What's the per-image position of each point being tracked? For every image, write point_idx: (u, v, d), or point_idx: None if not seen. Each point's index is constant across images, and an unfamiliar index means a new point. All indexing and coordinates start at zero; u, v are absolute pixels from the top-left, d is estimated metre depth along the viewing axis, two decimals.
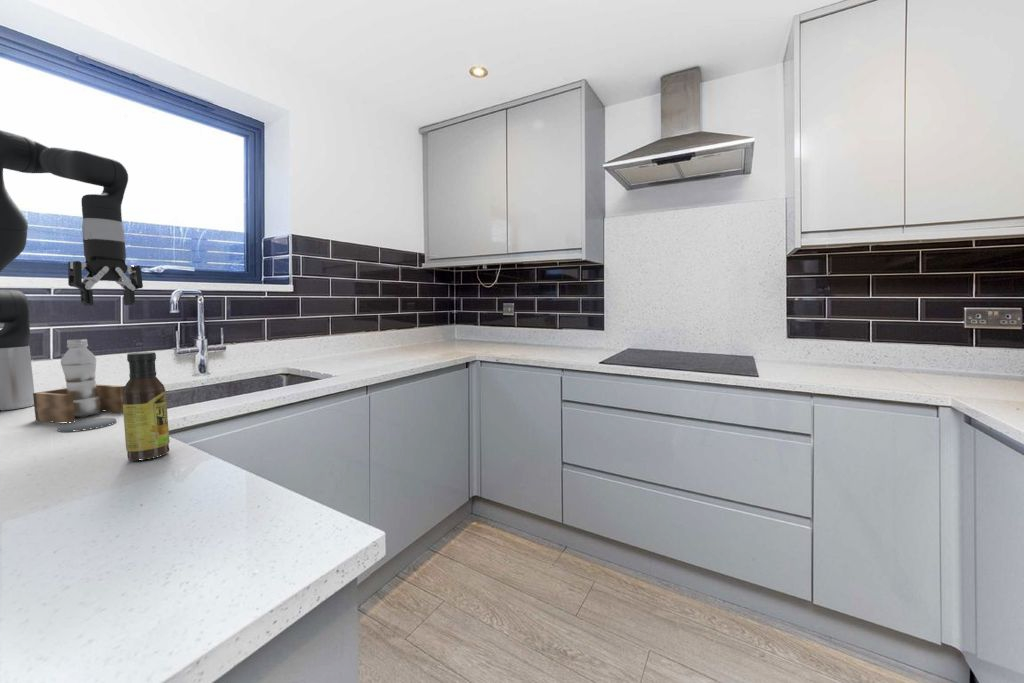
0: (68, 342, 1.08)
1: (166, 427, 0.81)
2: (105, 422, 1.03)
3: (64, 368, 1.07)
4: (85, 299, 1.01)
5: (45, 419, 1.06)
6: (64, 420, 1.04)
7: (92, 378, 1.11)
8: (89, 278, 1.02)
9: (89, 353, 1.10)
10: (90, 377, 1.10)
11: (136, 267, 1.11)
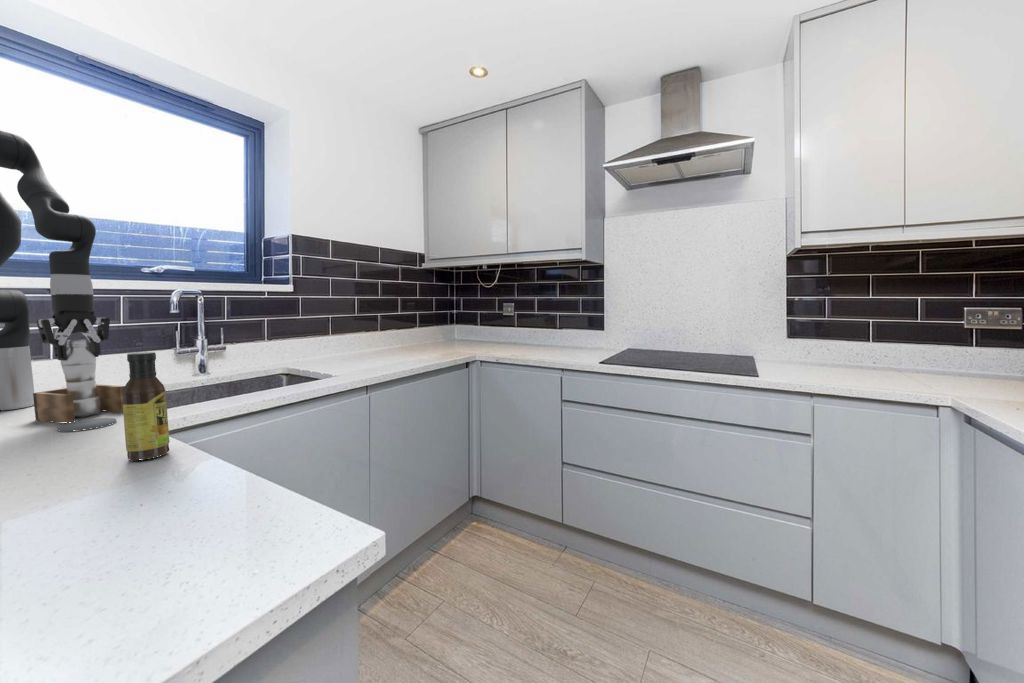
0: (68, 342, 1.08)
1: (166, 427, 0.81)
2: (105, 422, 1.03)
3: (64, 368, 1.07)
4: (59, 354, 1.05)
5: (45, 419, 1.06)
6: (64, 420, 1.04)
7: (92, 378, 1.11)
8: (60, 334, 1.06)
9: (89, 353, 1.10)
10: (90, 377, 1.10)
11: (105, 319, 1.14)
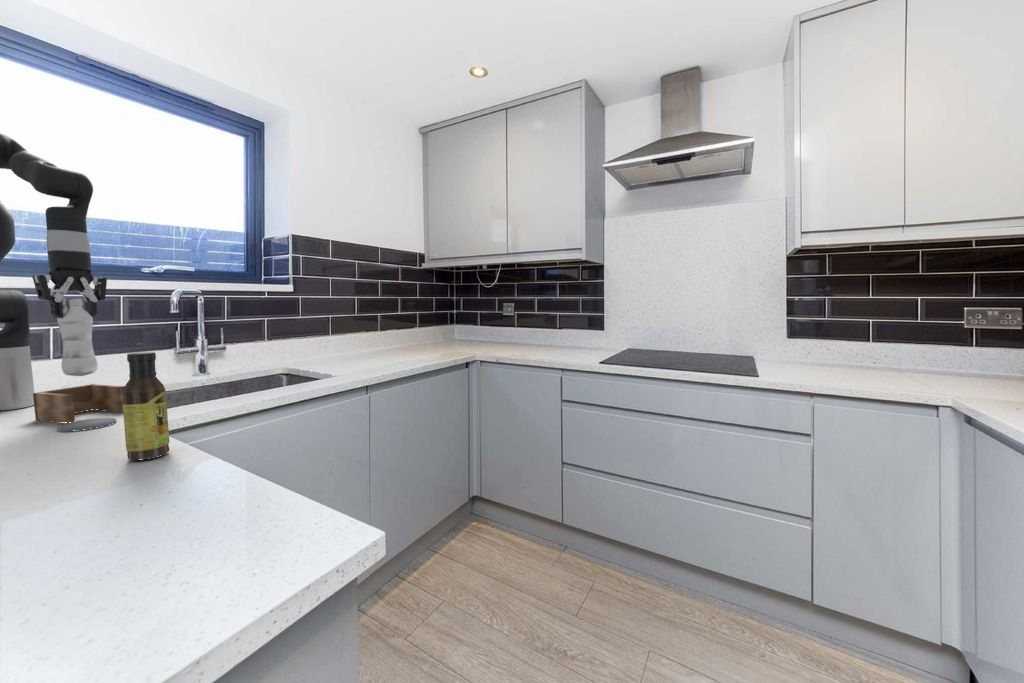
0: (64, 300, 1.07)
1: (166, 427, 0.81)
2: (105, 422, 1.03)
3: (60, 326, 1.06)
4: (55, 311, 1.05)
5: (45, 419, 1.06)
6: (64, 420, 1.04)
7: (88, 337, 1.10)
8: (56, 290, 1.05)
9: (86, 312, 1.09)
10: (86, 336, 1.09)
11: (102, 279, 1.13)
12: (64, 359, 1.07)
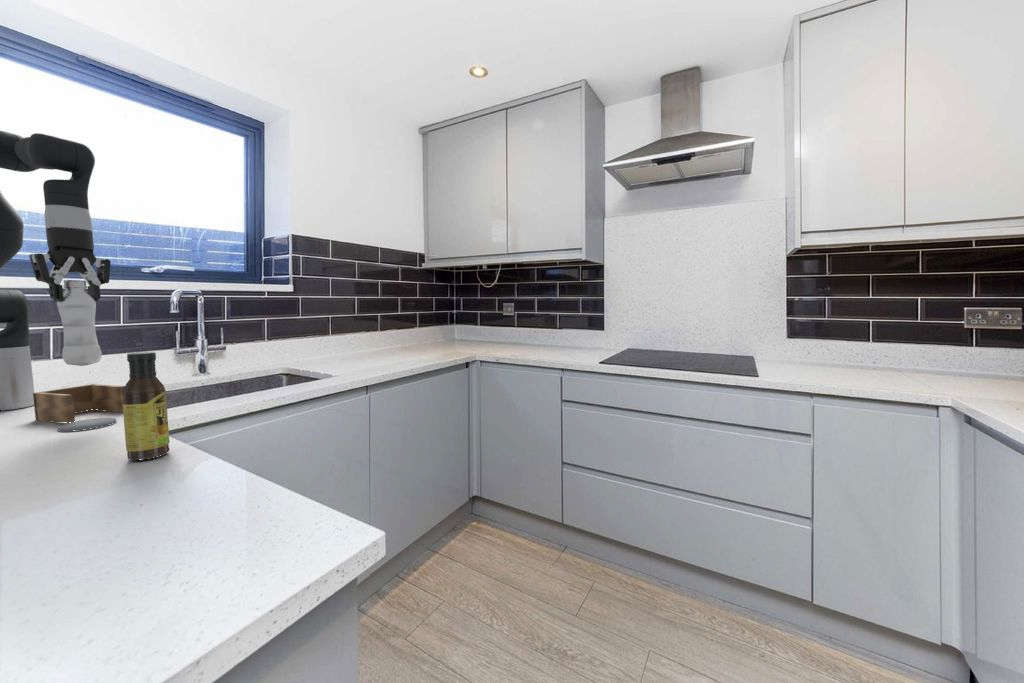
0: (65, 282, 0.97)
1: (166, 427, 0.81)
2: (105, 422, 1.03)
3: (60, 310, 0.97)
4: (54, 294, 0.95)
5: (45, 419, 1.06)
6: (64, 420, 1.04)
7: (91, 323, 1.01)
8: (56, 272, 0.96)
9: (88, 296, 1.00)
10: (89, 322, 1.00)
11: (106, 261, 1.04)
12: (65, 347, 0.98)
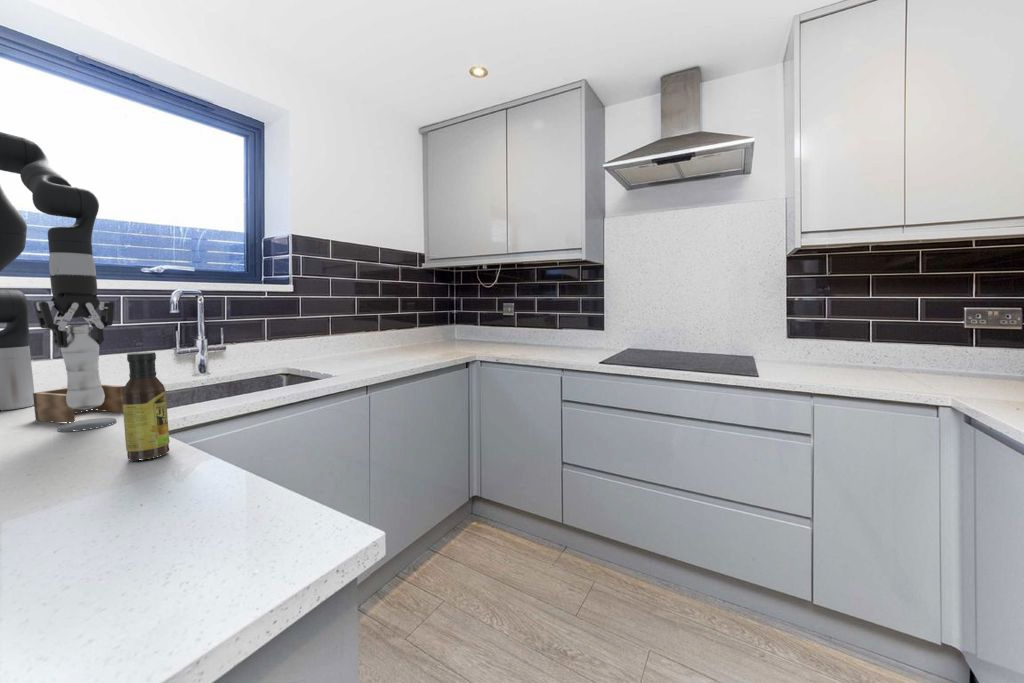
0: (69, 327, 0.98)
1: (166, 427, 0.81)
2: (105, 422, 1.03)
3: (64, 356, 0.98)
4: (58, 341, 0.96)
5: (45, 419, 1.06)
6: (64, 420, 1.04)
7: (95, 367, 1.01)
8: (60, 318, 0.97)
9: (92, 340, 1.01)
10: (92, 366, 1.01)
11: (109, 303, 1.05)
12: (69, 392, 0.99)
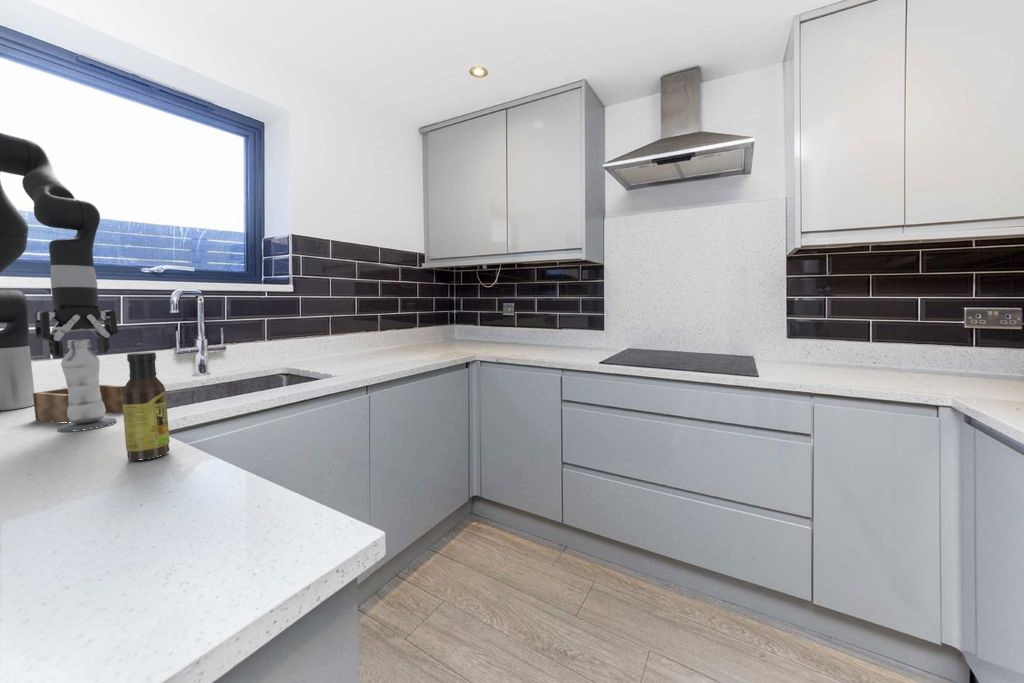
0: (69, 342, 0.99)
1: (166, 427, 0.81)
2: (105, 422, 1.03)
3: (65, 371, 0.98)
4: (54, 351, 0.95)
5: (45, 419, 1.06)
6: (64, 420, 1.04)
7: (95, 381, 1.02)
8: (58, 328, 0.96)
9: (92, 354, 1.01)
10: (93, 380, 1.01)
11: (110, 312, 1.05)
12: (70, 406, 0.99)
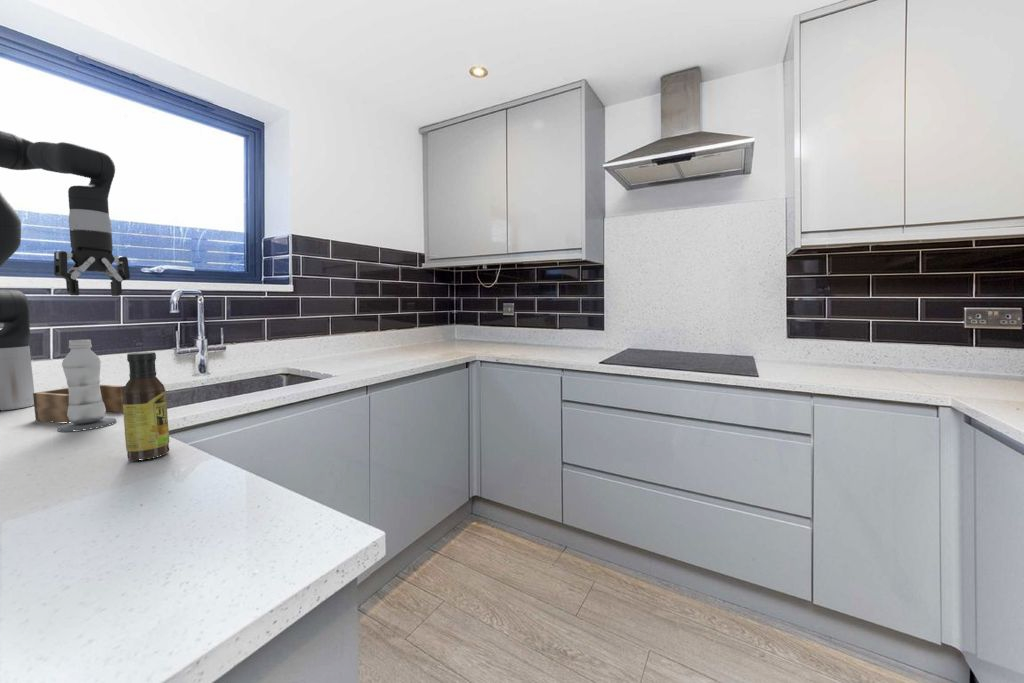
0: (70, 343, 0.99)
1: (166, 427, 0.81)
2: (105, 422, 1.03)
3: (66, 371, 0.98)
4: (71, 289, 1.03)
5: (45, 419, 1.06)
6: (64, 420, 1.04)
7: (96, 382, 1.02)
8: (75, 268, 1.03)
9: (93, 355, 1.01)
10: (94, 381, 1.01)
11: (123, 258, 1.12)
12: (70, 406, 0.99)
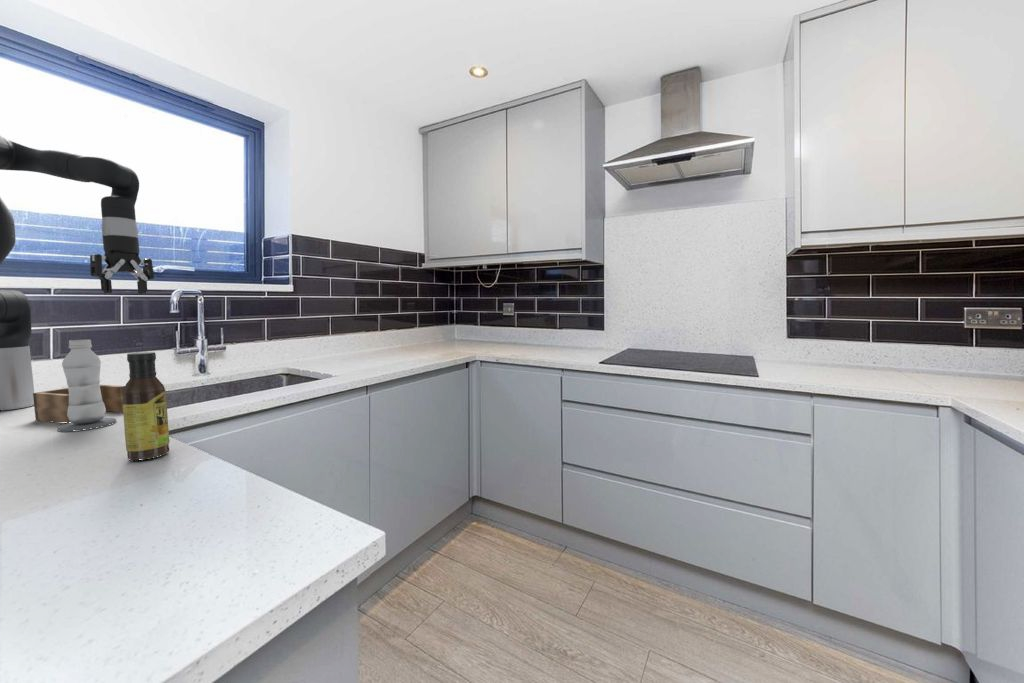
0: (70, 343, 0.99)
1: (166, 427, 0.81)
2: (105, 422, 1.03)
3: (66, 371, 0.98)
4: (105, 287, 1.16)
5: (45, 419, 1.06)
6: (64, 420, 1.04)
7: (96, 382, 1.02)
8: (108, 269, 1.17)
9: (93, 355, 1.01)
10: (94, 381, 1.01)
11: (148, 260, 1.26)
12: (70, 406, 0.99)
